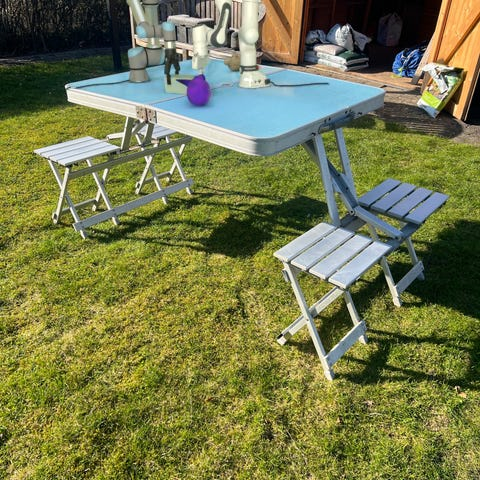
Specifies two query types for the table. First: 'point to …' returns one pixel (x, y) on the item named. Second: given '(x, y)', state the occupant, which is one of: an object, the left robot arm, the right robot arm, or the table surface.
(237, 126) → the table surface
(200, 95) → the toy
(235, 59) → the teapot
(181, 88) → the cabinet
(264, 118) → the table surface
